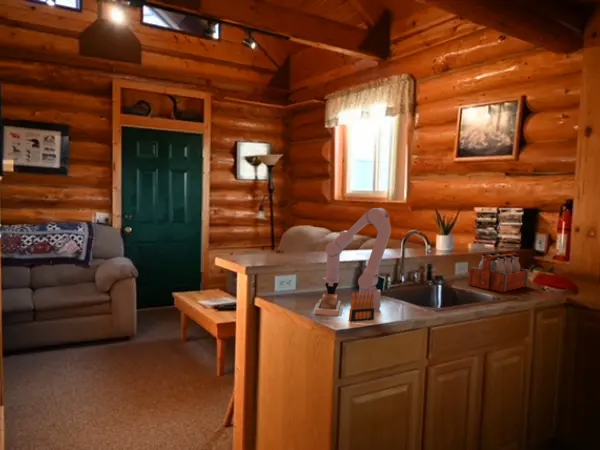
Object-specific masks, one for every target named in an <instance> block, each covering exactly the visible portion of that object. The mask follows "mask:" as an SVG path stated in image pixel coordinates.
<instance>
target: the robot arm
mask: <svg viewBox="0 0 600 450" xmlns="http://www.w3.org/2000/svg"><path fill="white" fill-rule="evenodd" d="M370 224H372V225H373V226H374V227H375V229H376V231H377V235H376V238H375V241H374V244H373V247H372V249H371V253H370V256H369V258H368V262H367V265H366V267H365V268H364V270H363V272H362V274H361V275H360V276H359V277H358V279H357V283H358V286H359V289H358V291H359V292H358V294H359V296H360V292H361V291H362V301H363V295H364V292H366V300H367V294H368V291H369V292H370V299H371V293H372V291H373V293H374V312H376V313H379V312H380V308H381V306H382V305H381V304H382V303H381V296H382V295H381V289H377V286H376V285H377V284H379V283H378V282H379V274H380V271H379V268H380V265H381V262H382V259H383V256H384V254H385V251H386V248H387V244H388V242H389V240H390V237H391V233H392V225H391V221H390V214H389V213H388V211H387V210H386V209H384V208H383V207H378V208H377V207H375V208H374V207H373V208H371V209H369V210H368V212H365V213H364V214H363V215H362V216H361V217H360V218H359V219H358V220H357V221H356V222H355V223H354V224H353V225H352V226H351V227H350V228H349V229H348V230H343V231H340V232H339V233H338V234H339V235H337V236H336V237H335V238H333V239H332V240H331V242H329V243H328V242H327V245H325V248H324V249H325V250H324V251H325V253H326V268H325V269H326V270H325V277H323V278H322V280H323V281H326V282H325V285H324V286H325V288H326V291H327V294H334V295H336V290H337V287H338V286H339V283H338V282H339V281H340V279H339V278H340V277H339V276H340V274H339V273H340V259H341V257H340V256H341V254H342V252H343V250H344V249H345V248H346V247H348V245H350V244H351V243H352V241H354V236H355V235H356V234H357V233H359V231H361V230H362V229H363V228H364V227H366V226H367V225H370Z"/></svg>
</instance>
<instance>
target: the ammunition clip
mask: <svg viewBox="0 0 600 450" xmlns="http://www.w3.org/2000/svg"><path fill="white" fill-rule="evenodd" d="M358 291H359V290H358ZM358 291H356V293H355V292H354V291H353V292H352V294H351V301H350V308H349V316H348V321H349V322H350V323H351V322H354V323H355V322H364V321H374V320H375V311H374V293H373V291H372V293H371V299H370V292H369V291H368V294H367V300H366V292H364V295H363V301H362V291H361V292H360V296H359V292H358Z"/></svg>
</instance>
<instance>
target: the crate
mask: <svg viewBox="0 0 600 450" xmlns="http://www.w3.org/2000/svg"><path fill="white" fill-rule="evenodd" d="M321 299H322V308H325V309H336V306H337V304H338V294H328V293H322V296H321Z"/></svg>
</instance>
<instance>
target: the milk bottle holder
mask: <svg viewBox="0 0 600 450" xmlns="http://www.w3.org/2000/svg"><path fill="white" fill-rule="evenodd" d="M519 259H520V257H519V253H517V252H515V251H511V252H510V253H507V254H504V252H503V251H497V254H496V252H489V253H487V252H486V253H484V252H482V255H481V260H480V262H479V264H478V267H474V266H473V267H470V269H469V277H468V280H467V284H468V286H473V287H476V288H480V289H485V290H490V289H491V291H495V290H496V292H500V293H505V292H508V291H513V290H517V288H518V289H522V288H521V287H523V288H524V287H526V286H527V287H528V285H529V275H530V274H529V269H527V268H526V269H525V268H521V264H520V262H519ZM527 287H526V288H527ZM512 289H513V290H512Z"/></svg>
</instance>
